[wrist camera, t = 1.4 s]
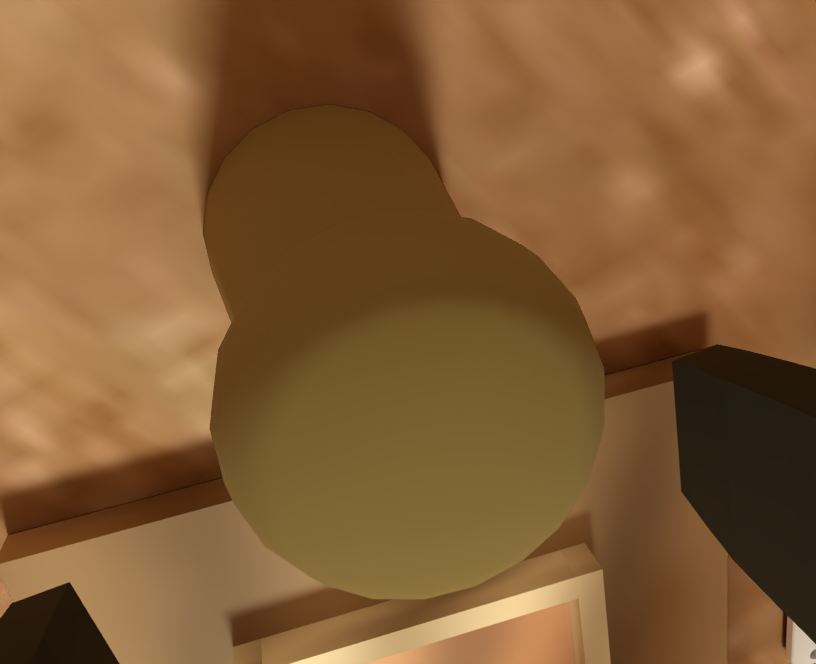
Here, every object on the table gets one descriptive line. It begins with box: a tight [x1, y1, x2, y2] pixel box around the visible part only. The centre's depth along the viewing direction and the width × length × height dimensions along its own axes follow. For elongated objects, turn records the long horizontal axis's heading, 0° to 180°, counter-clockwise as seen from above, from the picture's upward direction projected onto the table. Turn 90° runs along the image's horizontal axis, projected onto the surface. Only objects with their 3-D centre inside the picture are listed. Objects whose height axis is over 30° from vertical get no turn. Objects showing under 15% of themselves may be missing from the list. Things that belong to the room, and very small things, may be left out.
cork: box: [203, 104, 605, 599], centre depth 14 cm, size 6×6×11 cm
